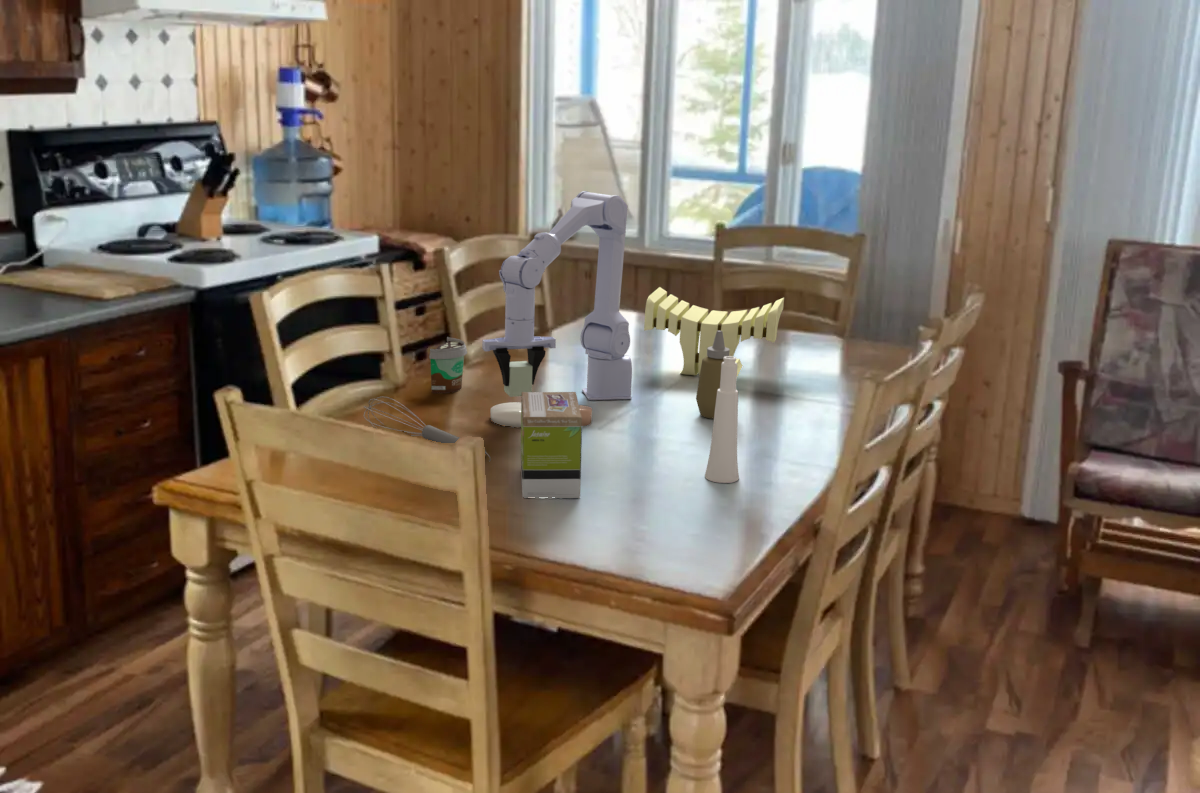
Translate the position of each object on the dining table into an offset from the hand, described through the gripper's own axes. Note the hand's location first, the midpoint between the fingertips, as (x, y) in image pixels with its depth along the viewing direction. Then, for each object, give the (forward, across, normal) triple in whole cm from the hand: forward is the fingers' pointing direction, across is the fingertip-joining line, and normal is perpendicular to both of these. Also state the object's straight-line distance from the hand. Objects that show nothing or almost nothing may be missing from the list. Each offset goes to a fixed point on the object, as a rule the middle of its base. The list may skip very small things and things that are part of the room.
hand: (518, 384), depth 241 cm
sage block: (+2, 0, 0) cm, 2 cm away
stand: (+7, 0, 0) cm, 7 cm away
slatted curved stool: (+8, -55, -27) cm, 62 cm away
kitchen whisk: (+8, +20, +10) cm, 24 cm away
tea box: (+8, +5, +38) cm, 39 cm away
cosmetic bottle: (+8, -26, +42) cm, 50 cm away
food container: (+8, +8, -25) cm, 27 cm away
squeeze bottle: (+8, -41, +6) cm, 42 cm away
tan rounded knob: (+8, -12, +4) cm, 15 cm away
